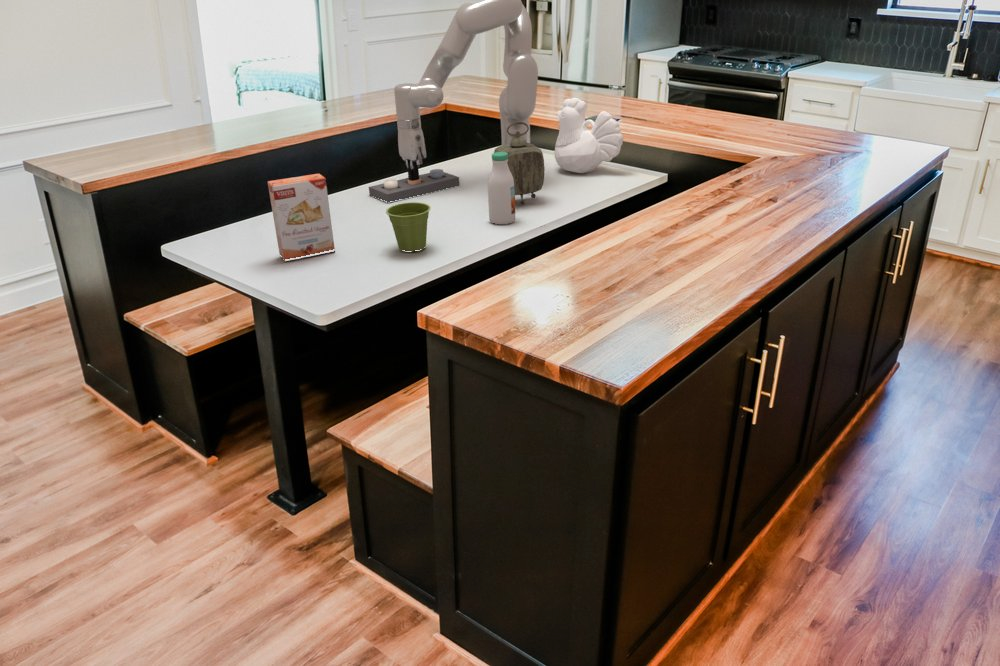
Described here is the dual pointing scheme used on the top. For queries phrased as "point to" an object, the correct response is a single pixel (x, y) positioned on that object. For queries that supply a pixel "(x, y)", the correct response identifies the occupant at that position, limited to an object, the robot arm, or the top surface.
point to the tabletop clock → (524, 164)
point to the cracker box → (301, 215)
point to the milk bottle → (501, 191)
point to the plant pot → (409, 224)
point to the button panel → (414, 187)
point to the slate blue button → (436, 173)
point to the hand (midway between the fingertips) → (413, 179)
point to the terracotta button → (414, 181)
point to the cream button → (390, 184)
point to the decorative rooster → (585, 138)
